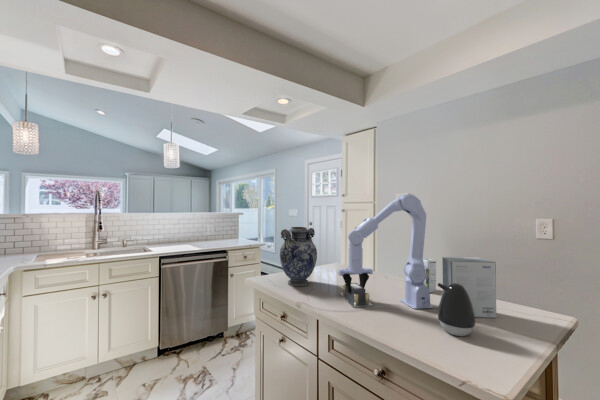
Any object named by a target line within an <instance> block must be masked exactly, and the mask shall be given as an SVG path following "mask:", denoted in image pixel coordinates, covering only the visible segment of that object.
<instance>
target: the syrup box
mask: <svg viewBox="0 0 600 400" xmlns="http://www.w3.org/2000/svg"><path fill="white" fill-rule="evenodd" d="M423 262H424V270H425V273H426V279H425V280H424V283H425V286H426V287H428V288H429V290H430V293H434V292H437V260H436V259H430V258H427V257H423Z"/></svg>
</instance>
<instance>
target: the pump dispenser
mask: <svg viewBox="0 0 600 400" xmlns="http://www.w3.org/2000/svg"><path fill="white" fill-rule="evenodd" d="M437 286H438V287H439V288H440V289H442V291H443V290H445V291H444V293H443V292H442V295H441V297H440V301H439V305H438V311H437V318H438V320H439V324H440V326H441V327H442V328H443V330H444V331H446V332H447V333H448V334H450V335H452V336H453V335H454V336H457V337H465V336H469V335H470V334H471V333H472V332H473V331H474V328H475V327H476V317H475V314H474V309H473V305H472V302H471V300H470V297H469V295H468V293H467V291H466V290H465V288H464V287H463V286H462V285H460V284H457V283H453V284H450V285H449V286H444V285H443V283H440V282H438V283H437Z"/></svg>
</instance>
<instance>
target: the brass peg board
mask: <svg viewBox="0 0 600 400" xmlns="http://www.w3.org/2000/svg"><path fill="white" fill-rule="evenodd" d="M339 296H341V297H342V298H343V299H344V300H345V301H346V302H347V303H348V304H349V305H350V306H351V307H352V308H353V309H359V308H370V307H371V308H372V307H374V305H373V304H372V303H371V302H370V293H368V292H365V302H358V294H354V302H353V301H351V300H350V299H349V298H348V297H347V296H346V295H345V283H342V292H339Z"/></svg>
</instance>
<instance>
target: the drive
mask: <svg viewBox="0 0 600 400" xmlns="http://www.w3.org/2000/svg"><path fill="white" fill-rule="evenodd" d="M344 284H345V283H344ZM365 293H366V288H365V287H364V288H363V287H362V286H360V283H359V284H358V283H357V282H351V293H348V292H347V287H346V284H345V295H346V296H347V297H348V298H349V299H350V300H351V301H353V302H354V294H358V302H365Z"/></svg>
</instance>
